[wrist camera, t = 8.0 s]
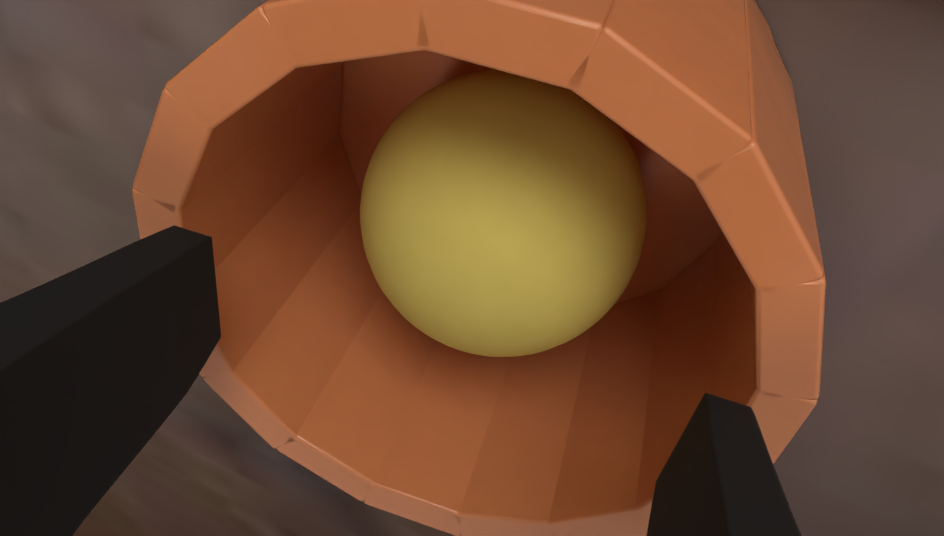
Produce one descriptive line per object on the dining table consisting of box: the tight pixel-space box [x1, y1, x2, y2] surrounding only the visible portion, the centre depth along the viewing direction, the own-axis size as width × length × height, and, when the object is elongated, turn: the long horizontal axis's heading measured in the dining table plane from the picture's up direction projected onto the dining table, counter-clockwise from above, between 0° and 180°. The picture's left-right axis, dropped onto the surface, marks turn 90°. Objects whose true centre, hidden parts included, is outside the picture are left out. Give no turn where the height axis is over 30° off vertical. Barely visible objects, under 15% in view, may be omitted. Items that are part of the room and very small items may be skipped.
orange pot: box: [132, 0, 826, 536], centre depth 13 cm, size 10×10×6 cm
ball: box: [360, 70, 647, 357], centre depth 13 cm, size 5×5×5 cm
